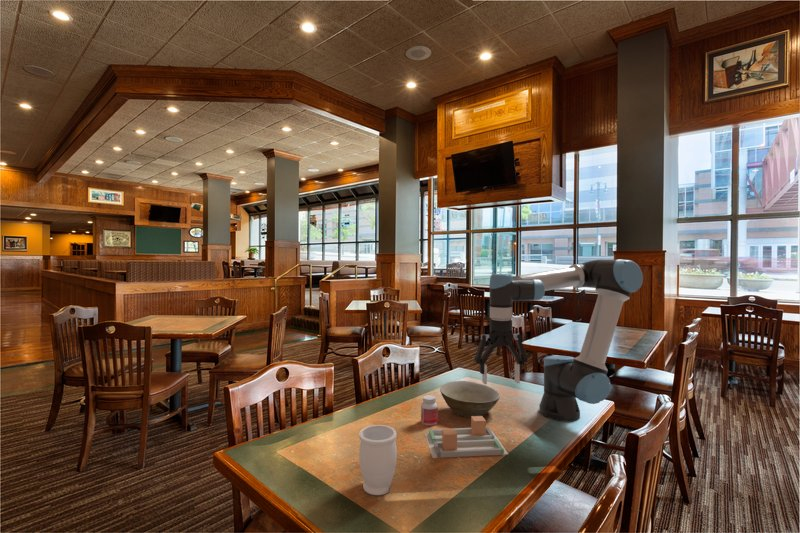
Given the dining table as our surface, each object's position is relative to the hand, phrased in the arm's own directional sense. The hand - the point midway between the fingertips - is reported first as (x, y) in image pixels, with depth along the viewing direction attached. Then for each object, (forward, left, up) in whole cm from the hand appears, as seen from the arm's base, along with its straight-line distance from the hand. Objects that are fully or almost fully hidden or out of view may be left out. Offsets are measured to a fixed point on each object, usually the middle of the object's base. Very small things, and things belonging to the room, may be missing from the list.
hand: (500, 382), depth 132 cm
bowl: (+5, -22, -20) cm, 31 cm away
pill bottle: (+23, -12, -20) cm, 33 cm away
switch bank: (+14, +5, -20) cm, 25 cm away
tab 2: (+8, 0, -18) cm, 20 cm away
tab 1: (+20, +9, -18) cm, 29 cm away
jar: (+43, +24, -20) cm, 53 cm away
